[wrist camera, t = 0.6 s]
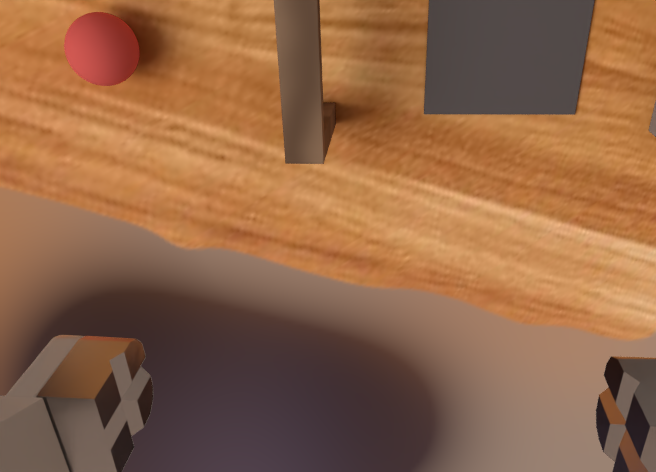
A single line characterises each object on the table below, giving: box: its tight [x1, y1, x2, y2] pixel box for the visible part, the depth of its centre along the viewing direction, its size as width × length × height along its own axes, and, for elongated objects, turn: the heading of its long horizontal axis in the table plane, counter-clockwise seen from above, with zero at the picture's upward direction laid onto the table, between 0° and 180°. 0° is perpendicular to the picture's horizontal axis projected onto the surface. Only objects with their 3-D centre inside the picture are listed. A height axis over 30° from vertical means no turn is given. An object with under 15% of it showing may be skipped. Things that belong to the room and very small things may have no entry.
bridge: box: [274, 0, 336, 164], centre depth 47 cm, size 3×15×10 cm, turn 2°
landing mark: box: [424, 0, 594, 114], centre depth 50 cm, size 13×13×1 cm
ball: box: [64, 12, 140, 86], centre depth 51 cm, size 6×6×6 cm
